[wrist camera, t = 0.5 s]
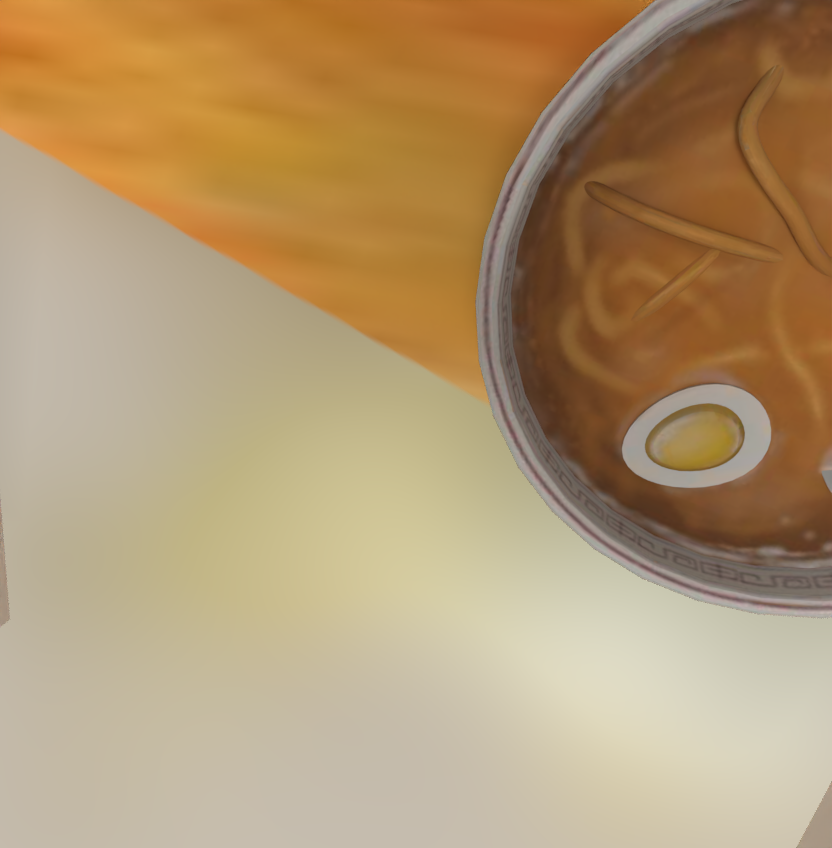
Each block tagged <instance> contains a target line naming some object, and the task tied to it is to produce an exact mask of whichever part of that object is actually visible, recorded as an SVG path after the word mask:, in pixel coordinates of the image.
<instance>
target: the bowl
mask: <svg viewBox="0 0 832 848" xmlns="http://www.w3.org/2000/svg"><path fill="white" fill-rule="evenodd" d="M476 317H477V334H478V351H479V363H480V367H481V371H482V375H483V379H484V382H485V386H486V390H487V394H488V397H489V401H490V405H491V409H492V413H493V416H494V419H495V421H496V423H497V425H498V427H499V429H500V431H501V433H502V435H503V437H504V439H505V441H506V443H507V445H508V447H509V449H510V451H511V453H512V455H513V457H514V459H515V462H516V464H517V466H518V468H519V469H520V470H521V471H522V473H523V474H524V475H525V477H526V478H527V479H528V481H529V482H530V483H531V485H532V486H533V487H534V488H535V490H536V491H537V492H538V494H539V495H540V496H541V498H542V499H543V500H544V501H545V503H546V504H547V505H548V507H549V508H550V509H551V511H552V512H553V513H554V514H555V515H557V516H558V517H559V518H560V519H561V520H562V521H563V522H565V523H566V524H567V525H568V526H569V527H570V528H571V529H572V530H573V531H575V532H576V533H577V534H578V535H579V536H580V537H581V538H582V539H583V540H585V541H586V542H587V543H588V544H589V545H590V546H591V547H592V548H594V549H595V550H597V551H598V552H600V553H601V554H603V555H605V556H607V557H608V558H610V559H611V560H613V561H614V562H616V563H618V564H619V565H621V566H623V567H624V568H626V569H627V570H629V571H631V572H632V573H634V574H636V575H637V576H639V577H640V578H642V579H644V580H647V581H649V582H652V583H654V584H657V585H659V586H662V587H664V588H667V589H669V590H672V591H674V592H677V593H680V594H682V595H684V596H687V597H689V598H692V599H694V600H697V601H701V602H705V603H710V604H715V605H719V606H723V607H728V608H732V609H737V610H741V611H746V612H750V613H755V614H764V615H780V616H795V617H811V618H829V617H832V0H655V1H654V2H652V3H651V4H650V5H649V6H648V7H646V8H645V9H644V10H643V11H642V12H640V13H639V14H638V15H637V16H636V17H634V18H633V19H632V20H631V21H630V22H628V23H627V24H626V25H625V26H624V27H622V28H621V29H620V30H619V31H618V32H616V33H615V34H614V35H613V36H612V37H610V38H609V39H608V40H607V41H606V42H604V43H603V44H602V45H601V46H600V47H598V48H597V49H596V50H595V51H594V52H592V53H591V54H590V56H589V57H588V58H587V59H586V60H585V61H584V63H583V64H582V65H581V66H580V67H579V69H578V70H577V71H576V72H575V73H574V75H573V76H572V77H571V78H570V79H569V81H568V82H567V83H566V84H565V85H564V87H563V88H562V89H561V90H560V91H559V92H558V94H557V95H556V96H555V97H554V98H553V100H552V101H551V102H550V103H549V104H548V106H547V107H546V108H545V109H544V110H543V112H542V113H541V115H540V116H539V118H538V120H537V122H536V123H535V125H534V127H533V129H532V130H531V132H530V134H529V136H528V138H527V139H526V141H525V143H524V145H523V146H522V148H521V150H520V152H519V153H518V155H517V157H516V159H515V160H514V162H513V164H512V166H511V167H510V169H509V171H508V173H507V174H506V177H505V180H504V183H503V186H502V189H501V192H500V194H499V197H498V200H497V203H496V206H495V209H494V212H493V215H492V218H491V221H490V224H489V227H488V229H487V232H486V235H485V238H484V245H483V252H482V259H481V266H480V273H479V280H478V288H477V295H476Z"/></svg>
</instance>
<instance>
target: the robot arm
mask: <svg viewBox="0 0 832 848" xmlns="http://www.w3.org/2000/svg"><path fill="white" fill-rule="evenodd" d="M9 619H10V616H9V603H8V590H7V578H6V566H5V552H4V539H3V527H2V513H1V501H0V627H1V626H2V625H3V624H5V623H6V622H7V621H8V620H9ZM797 848H832V782H831V784H830V786H829V788H828V790H827V792H826V793H825V795H824V798H823V799H822V801H821V803H820V805H819V807H818V808H817V810H816V812H815V814H814V816H813V818H812V820H811V822H810V823H809V825H808V827H807V829H806V831H805V833H804V835H803V837H802V838H801V840H800V842H799V844H798V846H797Z"/></svg>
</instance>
